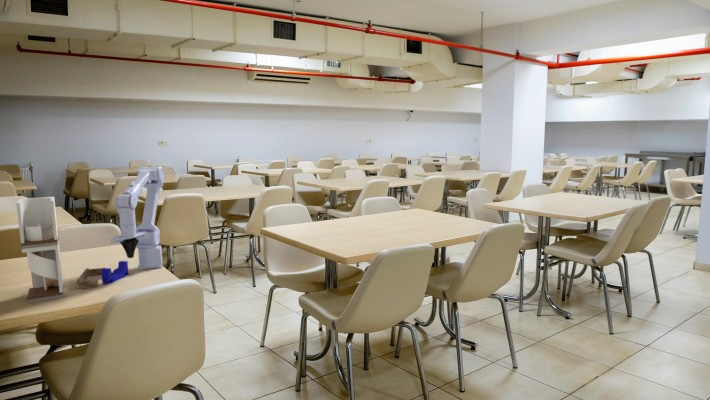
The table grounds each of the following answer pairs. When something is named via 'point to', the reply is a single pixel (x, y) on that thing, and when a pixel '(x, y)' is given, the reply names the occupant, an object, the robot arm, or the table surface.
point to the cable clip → (114, 273)
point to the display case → (41, 247)
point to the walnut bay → (88, 272)
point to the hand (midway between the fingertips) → (130, 257)
